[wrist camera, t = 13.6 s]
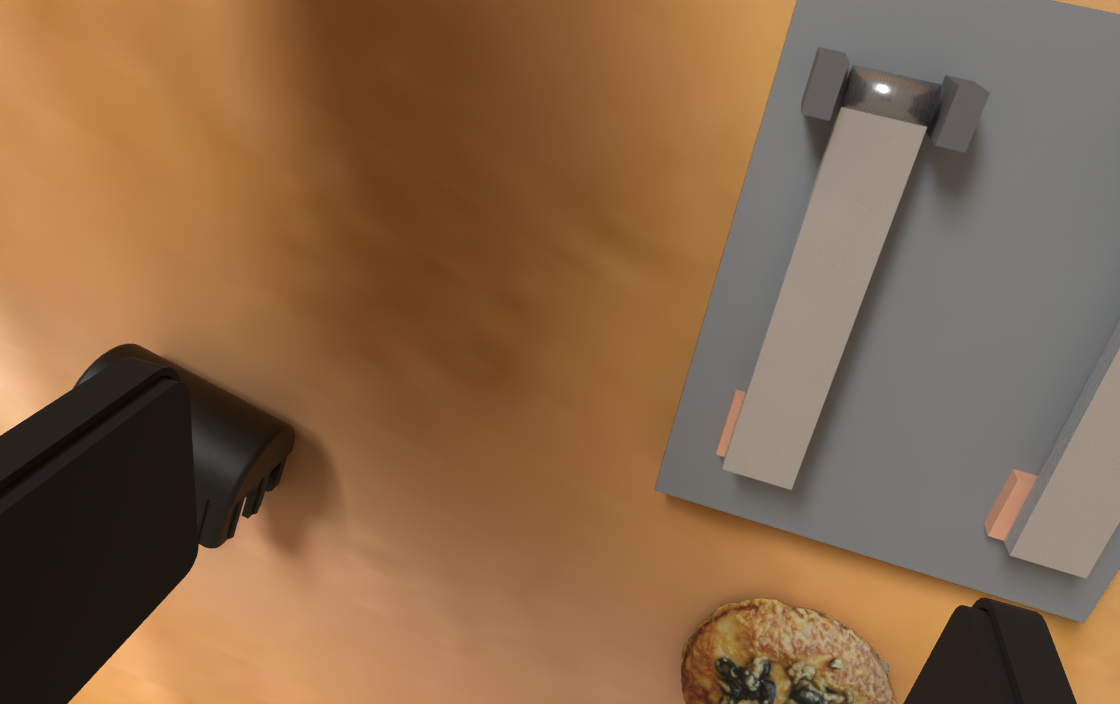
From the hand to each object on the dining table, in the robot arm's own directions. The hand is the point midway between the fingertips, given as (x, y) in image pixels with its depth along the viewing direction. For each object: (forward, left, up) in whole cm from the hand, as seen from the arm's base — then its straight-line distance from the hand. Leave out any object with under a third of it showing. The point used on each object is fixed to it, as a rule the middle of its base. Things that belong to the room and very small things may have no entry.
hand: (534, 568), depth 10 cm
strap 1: (+4, +5, -25) cm, 26 cm away
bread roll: (+27, +11, -29) cm, 41 cm away
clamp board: (+5, +11, -28) cm, 31 cm away
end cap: (+22, -24, -29) cm, 43 cm away
